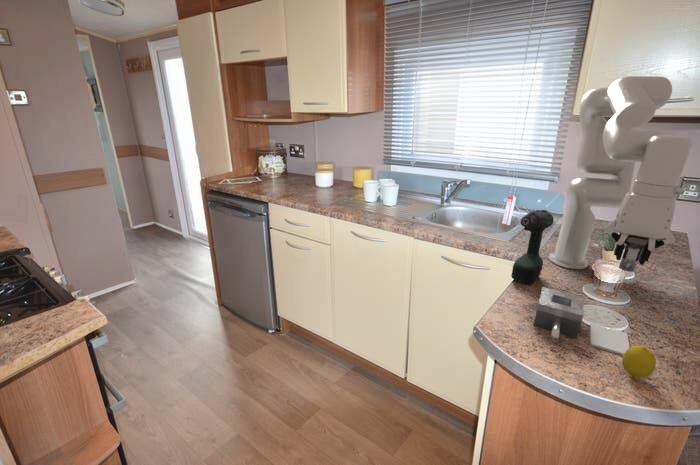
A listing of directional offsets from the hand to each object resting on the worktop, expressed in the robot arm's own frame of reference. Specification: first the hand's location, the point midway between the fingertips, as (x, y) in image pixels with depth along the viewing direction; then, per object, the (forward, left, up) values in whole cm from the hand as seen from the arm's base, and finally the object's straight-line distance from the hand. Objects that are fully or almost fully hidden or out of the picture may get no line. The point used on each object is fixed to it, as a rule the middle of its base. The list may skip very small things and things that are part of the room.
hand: (629, 259), depth 89 cm
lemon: (+20, +4, -20) cm, 28 cm away
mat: (+8, 0, -19) cm, 21 cm away
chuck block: (+11, -12, -19) cm, 25 cm away
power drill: (-14, -23, -20) cm, 33 cm away
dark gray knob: (0, 0, -2) cm, 3 cm away
